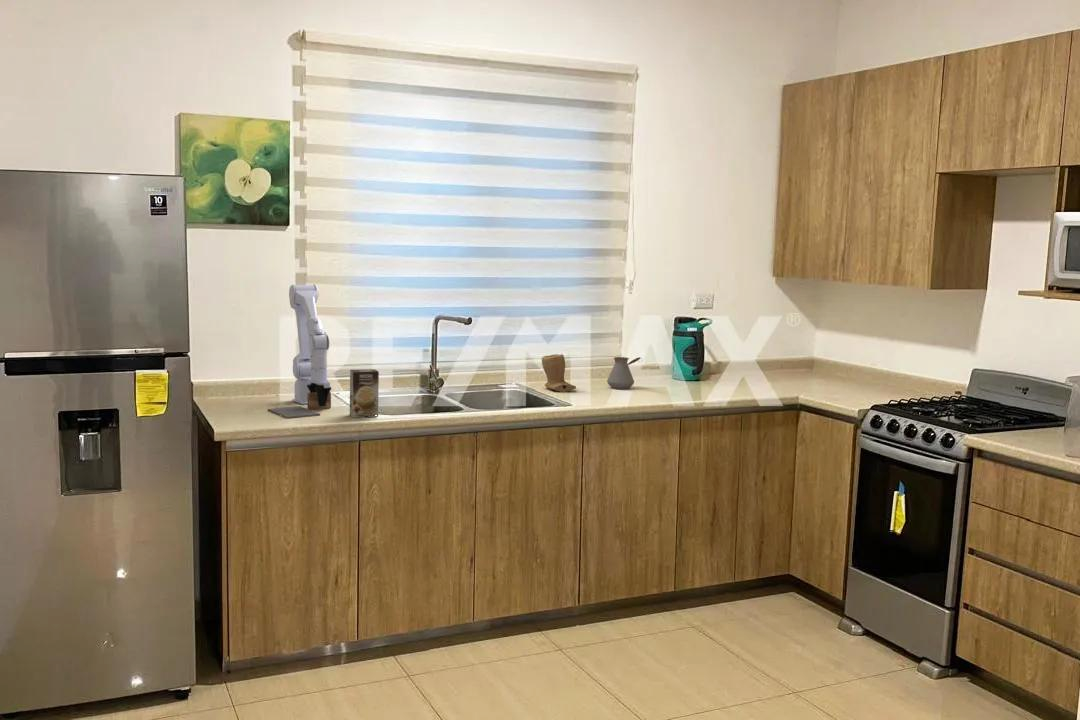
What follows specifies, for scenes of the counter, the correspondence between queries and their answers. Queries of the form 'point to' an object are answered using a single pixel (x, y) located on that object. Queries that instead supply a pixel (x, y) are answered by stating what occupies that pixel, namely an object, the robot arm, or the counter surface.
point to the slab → (314, 404)
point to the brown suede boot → (556, 373)
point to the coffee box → (364, 392)
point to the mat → (294, 412)
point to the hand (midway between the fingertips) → (319, 404)
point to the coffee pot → (621, 374)
